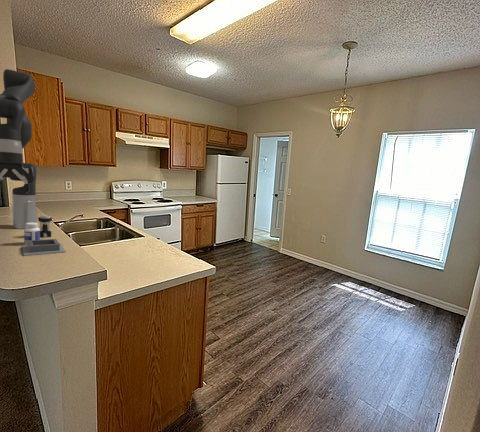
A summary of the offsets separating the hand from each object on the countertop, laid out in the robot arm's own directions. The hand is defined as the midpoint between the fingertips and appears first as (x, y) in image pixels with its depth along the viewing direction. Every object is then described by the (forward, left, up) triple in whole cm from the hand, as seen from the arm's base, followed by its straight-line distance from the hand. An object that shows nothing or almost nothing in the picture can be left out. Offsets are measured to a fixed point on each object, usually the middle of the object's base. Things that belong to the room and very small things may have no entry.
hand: (12, 193), depth 105 cm
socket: (+4, +14, -21) cm, 26 cm away
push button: (-15, +2, -22) cm, 26 cm away
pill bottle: (-3, +5, -22) cm, 22 cm away
